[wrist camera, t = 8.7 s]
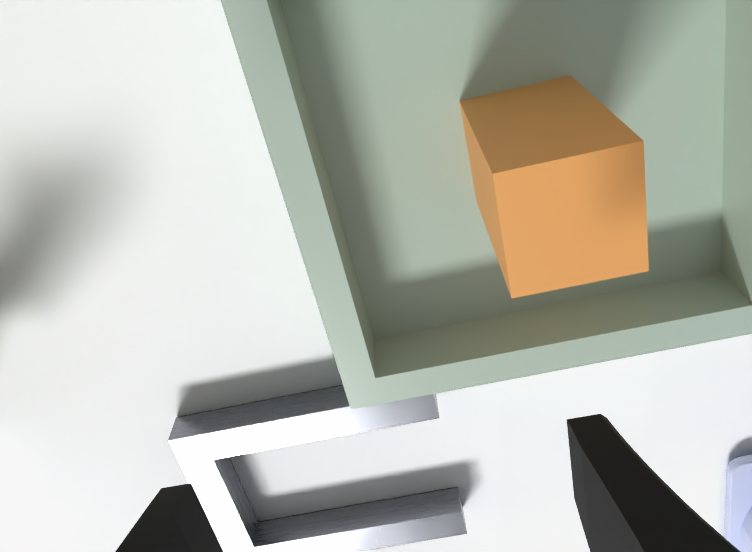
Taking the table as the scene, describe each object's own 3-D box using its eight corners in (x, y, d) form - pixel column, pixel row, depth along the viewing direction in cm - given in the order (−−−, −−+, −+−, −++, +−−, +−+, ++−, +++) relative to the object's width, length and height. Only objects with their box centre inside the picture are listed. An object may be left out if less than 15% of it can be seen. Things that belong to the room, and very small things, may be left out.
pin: (570, 75, 18) (643, 140, 14) (579, 179, 20) (649, 271, 15) (459, 100, 19) (492, 174, 14) (476, 201, 20) (511, 298, 15)
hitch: (429, 368, 24) (432, 390, 23) (462, 508, 27) (466, 533, 26) (176, 417, 25) (168, 440, 24) (238, 547, 28) (233, 572, 27)
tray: (761, -191, 16) (827, -204, 14) (743, 282, 22) (787, 327, 20) (227, -52, 17) (207, -44, 15) (352, 359, 24) (350, 409, 21)
